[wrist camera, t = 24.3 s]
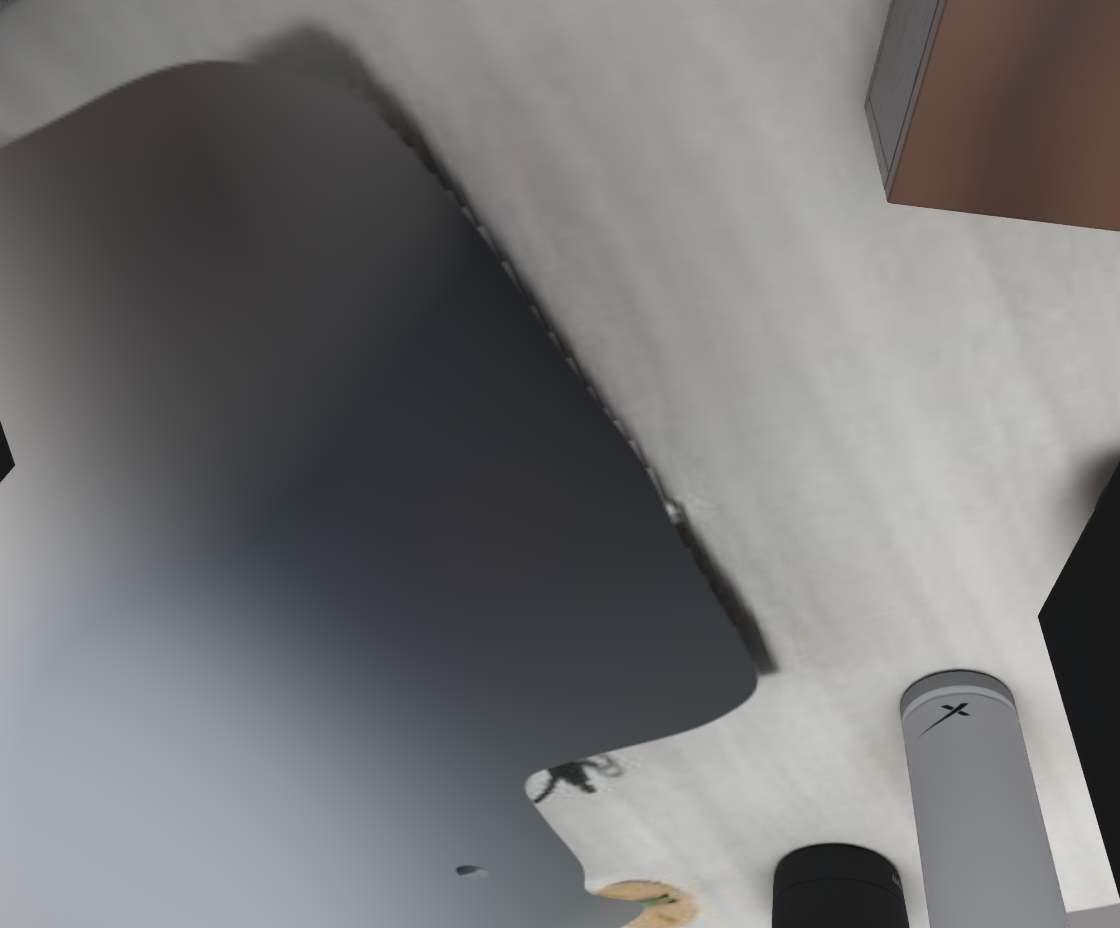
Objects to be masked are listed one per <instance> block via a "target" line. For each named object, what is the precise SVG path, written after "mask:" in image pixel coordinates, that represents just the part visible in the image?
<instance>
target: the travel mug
mask: <svg viewBox="0 0 1120 928" xmlns="http://www.w3.org/2000/svg"><path fill="white" fill-rule="evenodd" d="M900 712H901V720H902V727H903V733H904V742H905V749H906V756H907V763H908V770H909V778H910V785H911V792H912V799H913V807H914V814H915V821H916V828H917V836H918V843H919V850H920V857H921V865H922V872H923V879H924V886H925V893H926V901H927V908H928V915H929V922H930V928H1070V927H1069V923H1068V919H1067V915H1066V911H1065V907H1064V902H1063V898H1062V894H1061V890H1060V886H1059V882H1058V878H1057V874H1056V870H1055V866H1054V861H1053V857H1052V853H1051V849H1050V845H1049V841H1048V837H1047V833H1046V829H1045V825H1044V821H1043V816H1042V812H1041V808H1040V804H1039V800H1038V796H1037V792H1036V788H1035V784H1034V780H1033V775H1032V771H1031V767H1030V763H1029V759H1028V755H1027V751H1026V747H1025V743H1024V739H1023V735H1022V730H1021V726H1020V723H1019V718H1018V714H1017V710H1016V706H1015V702H1014V699H1013V696H1012V694H1011V693H1010V691H1009V690H1008V689H1007V688H1006V687H1005V686H1004V685H1003V684H1002V683H1000V682H999V681H997V680H995V679H993V678H991V677H989V676H986V675H983V674H979V673H973V672H962V671H957V672H946V673H941V674H936V675H933V676H930V677H927V678H925V679H923V680H921V681H919V682H918V683H916V684H915V685H914V686H912V687H911V688H910V689H909V690H908V691H907V692H906V694H905V695H904V697H903V699H902V701H901V705H900Z"/></svg>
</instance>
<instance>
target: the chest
mask: <svg viewBox="0 0 1120 928" xmlns="http://www.w3.org/2000/svg"><path fill="white" fill-rule="evenodd" d="M938 3H939V0H892V1H891V5H890V9H889V13H888V17H887V20H886V24H885V28H884V32H883V36H882V40H881V44H880V48H879V51H878V55H877V59H876V63H875V67H874V71H873V75H872V78H871V82H870V86H869V90H868V94H867V98H866V102H865V106H864V108H865V112H866V116H867V120H868V124H869V128H870V132H871V137H872V141H873V145H874V149H875V153H876V157H877V162H878V166H879V170H880V174H881V178H882V183H883V187H884V190H885V188H886V185H887V181H888V178H889V174H890V171H891V167H892V164H893V160H894V157H895V153H896V150H897V146H898V143H899V139H900V136H901V132H902V129H903V125H904V122H905V118H906V115H907V111H908V108H909V104H910V101H911V97H912V94H913V90H914V87H915V83H916V80H917V76H918V73H919V69H920V66H921V62H922V59H923V55H924V52H925V48H926V45H927V41H928V38H929V34H930V31H931V27H932V24H933V21H934V17H935V14H936V10H937V7H938Z"/></svg>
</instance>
